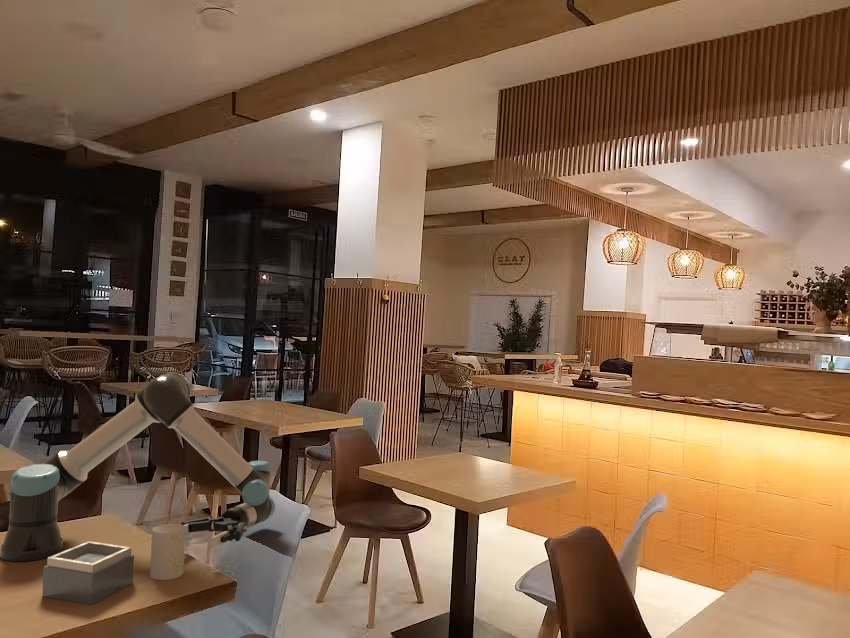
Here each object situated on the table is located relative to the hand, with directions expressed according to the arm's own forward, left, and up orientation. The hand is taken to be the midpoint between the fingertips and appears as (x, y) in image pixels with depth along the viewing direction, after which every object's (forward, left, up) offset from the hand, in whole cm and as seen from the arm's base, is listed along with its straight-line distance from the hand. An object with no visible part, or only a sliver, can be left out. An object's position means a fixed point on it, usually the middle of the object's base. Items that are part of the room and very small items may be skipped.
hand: (191, 539), depth 181 cm
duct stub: (-12, -24, -7) cm, 27 cm away
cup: (-1, -9, -7) cm, 11 cm away
